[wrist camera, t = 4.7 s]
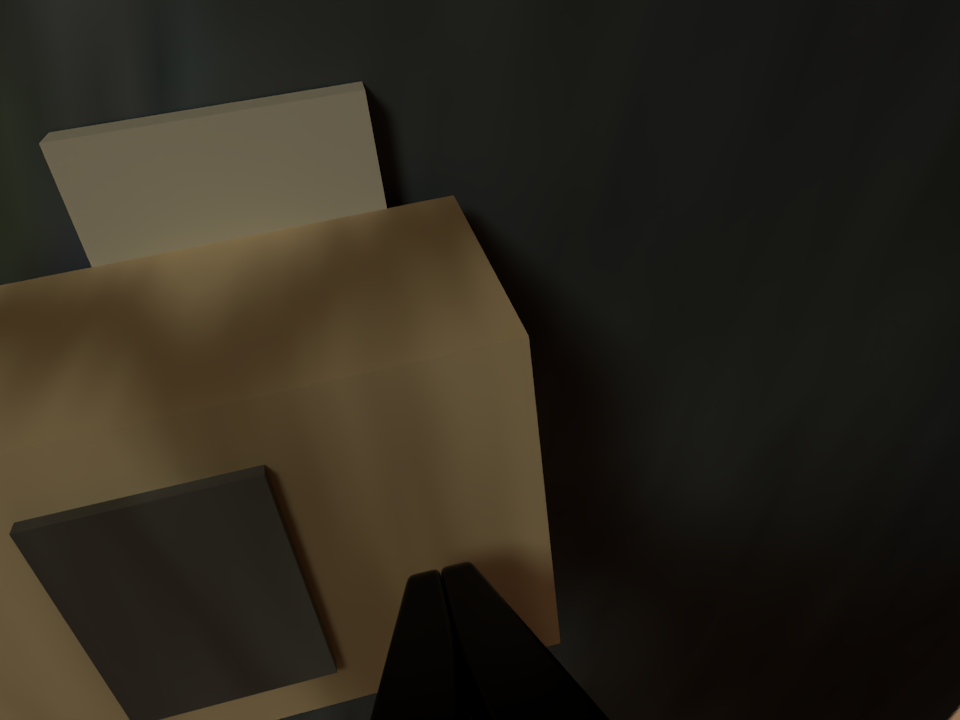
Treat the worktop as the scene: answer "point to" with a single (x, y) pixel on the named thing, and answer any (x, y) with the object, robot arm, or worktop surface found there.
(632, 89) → the worktop surface
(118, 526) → the wooden block
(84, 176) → the mat
